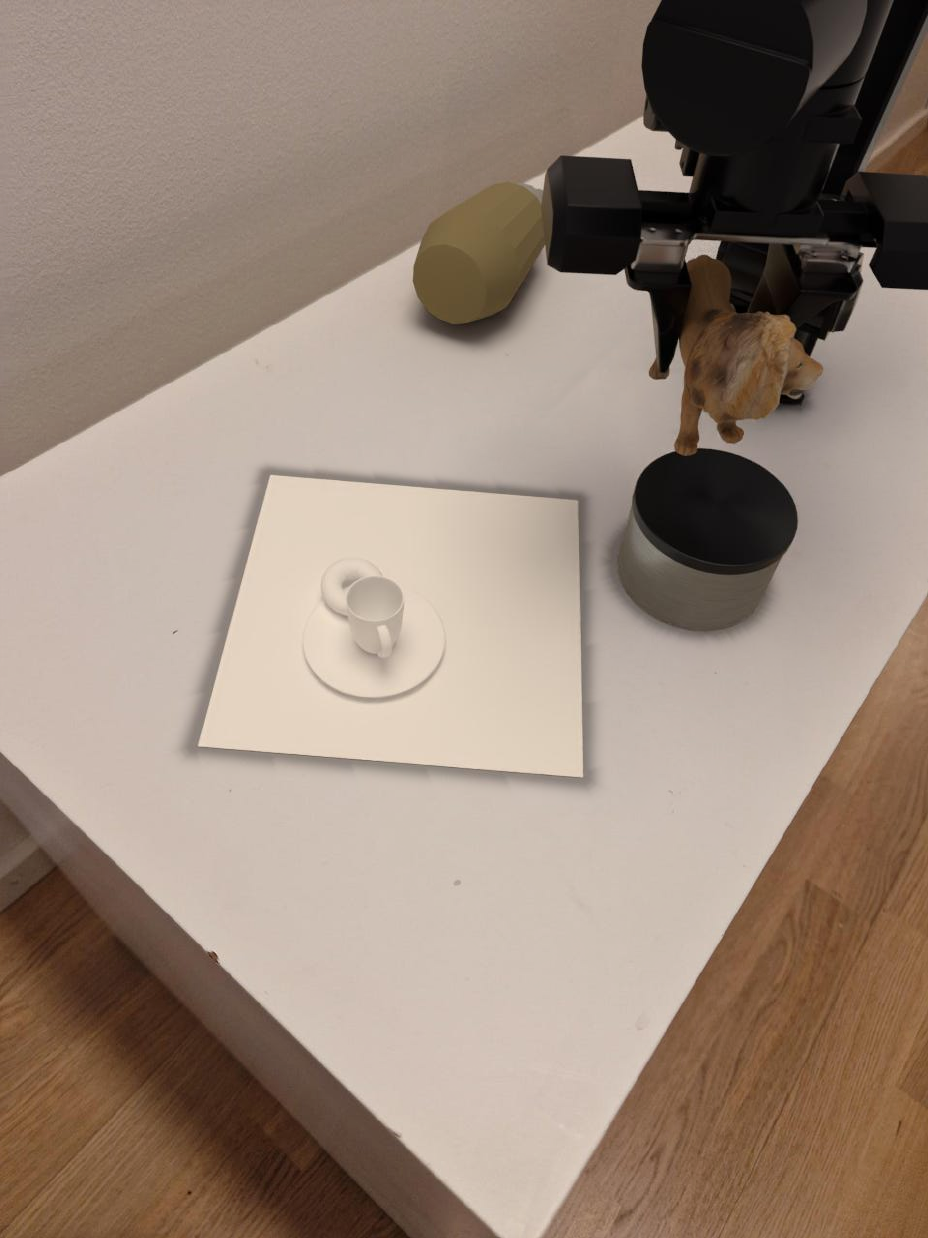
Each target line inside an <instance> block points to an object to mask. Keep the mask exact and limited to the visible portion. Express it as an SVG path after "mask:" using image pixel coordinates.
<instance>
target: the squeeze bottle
mask: <svg viewBox="0 0 928 1238" xmlns="http://www.w3.org/2000/svg"><path fill="white" fill-rule="evenodd" d="M542 196H543V189H542V188H536V187H534V186H533V185H531V184H527V183H524V182H515V183H514V182H511V181H505V182H498V183H493V184H491V185H490V186H487V187H486V188H484V189H483V190H481V191H479V192H477V193H476V194H474V195H473V196H471V197H469V198H467V199H466V200H464V201H462V202H460V203H459V204H457V205H455V206H454V207H452V208H451V209H448V210H447V211H445V212H444V213H442V214H441V215H440V216H438V217H437V218H435V219H434V220H432V222H430V223H429V224H428V226H427V228H426V230H425V233H424V235H423V237H422V238H421V241H420V244H419V247H418V251H417V253H416V257H415V260H414V264H413V269H412V271H413V272H412V283H413V287H414V291H415V294H416V297H417V298H418V299H419V301H420V303H421V304H422V305H423V307H424V309H426V311H427V312H428V313H430V314H431V315H432V316H434V317H435V318H436V319H438V320H440V321H443V322H446V323H449V324H451V325H458V324H459V325H460V324H468V323H472V322H475V321H478V320H482V319H485V318H490V317H492V316H494V315H495V314H497V313H499V312H501V311H502V310H504V309H505V308H507V307H508V306H509V304H510V302H511V301H512V300H513V297H514V296H515V295H516V293H517V291H518V290H519V288H520V287H521V285H522V283H523V282H524V280H525V278H526V277H527V275H528V274H529V272H530V270H531V269H532V267H533V265H534V264H535V263H536V261H537V259H538V257H539V256H540V254H541V252H542V251H543V249H544V248H545V238H544V229H543V220H542V210H541V204H542Z"/></svg>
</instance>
